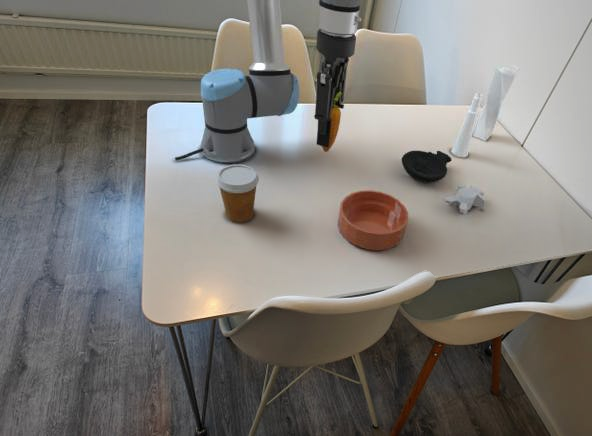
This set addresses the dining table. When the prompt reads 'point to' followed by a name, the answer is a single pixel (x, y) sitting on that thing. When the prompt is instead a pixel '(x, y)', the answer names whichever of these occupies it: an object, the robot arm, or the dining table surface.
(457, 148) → the cosmetic bottle
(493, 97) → the skyscraper
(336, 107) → the carrot
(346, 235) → the bowl
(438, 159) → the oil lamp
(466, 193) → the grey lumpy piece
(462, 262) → the dining table surface
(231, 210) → the disposable coffee cup
